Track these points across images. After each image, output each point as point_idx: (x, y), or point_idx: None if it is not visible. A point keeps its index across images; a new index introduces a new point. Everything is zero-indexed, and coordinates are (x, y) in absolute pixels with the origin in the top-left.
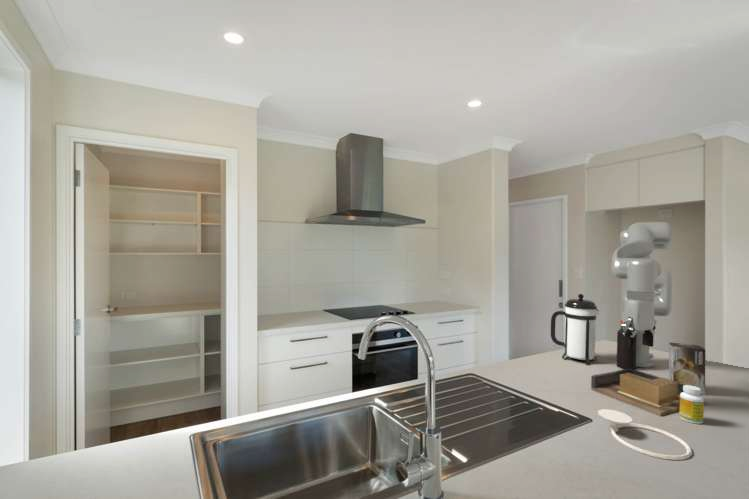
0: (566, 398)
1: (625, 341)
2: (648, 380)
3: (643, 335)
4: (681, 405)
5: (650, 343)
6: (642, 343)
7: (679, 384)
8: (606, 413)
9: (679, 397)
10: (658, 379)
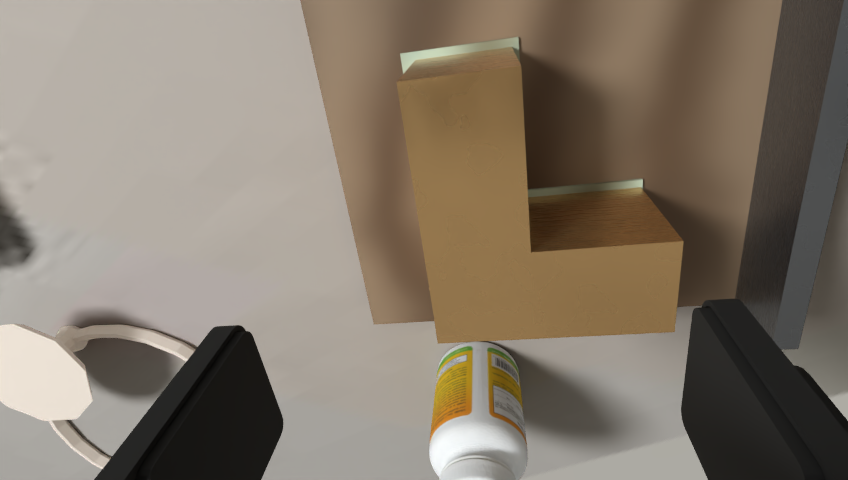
0: (16, 11)
1: (169, 403)
2: (490, 253)
3: (775, 458)
4: (437, 401)
5: (697, 442)
6: (698, 316)
7: (788, 256)
8: (5, 354)
9: (716, 234)
10: (594, 260)
